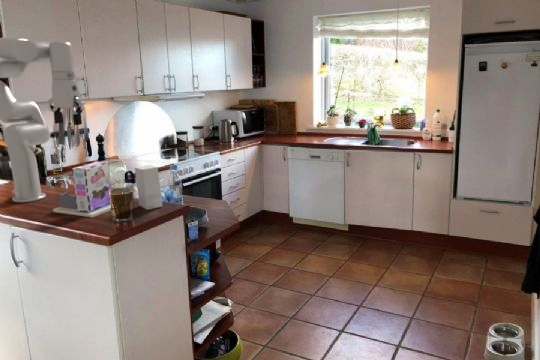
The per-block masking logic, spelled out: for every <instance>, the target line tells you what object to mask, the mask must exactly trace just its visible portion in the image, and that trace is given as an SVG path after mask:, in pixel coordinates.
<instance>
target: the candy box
mask: <svg viewBox="0 0 540 360" xmlns="http://www.w3.org/2000/svg"><path fill="white" fill-rule="evenodd" d="M71 171H72V178H73V183H74V188H75V196H76V205H77V211H81V212H92V211H94V210H96V209H98V208H101V207H103V206H106V205H108V204H110V198H109V188H110V187H111V188H112V185H111V177H110V175H111V174H110V167H109V162H108V161H94V162H91V163H87V164H84V165H81V166H77V167H73V168H71Z"/></svg>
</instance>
